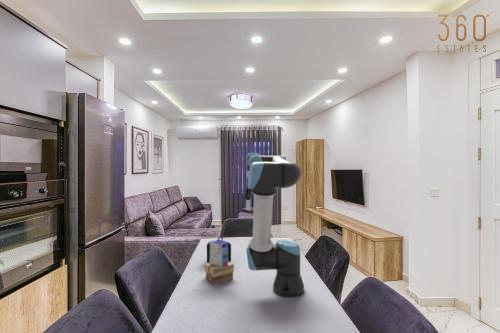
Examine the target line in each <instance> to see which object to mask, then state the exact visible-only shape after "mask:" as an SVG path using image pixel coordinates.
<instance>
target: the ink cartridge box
mask: <svg viewBox="0 0 500 333" xmlns="http://www.w3.org/2000/svg"><path fill="white" fill-rule="evenodd" d="M224 241H225V240H224V237H223V236H218V238H217V239H214V240H211V241H209V242H210V263H211V264H214V265H217V266H219V267H223V266H226V265H228V242H229V241H226V242H224Z"/></svg>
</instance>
